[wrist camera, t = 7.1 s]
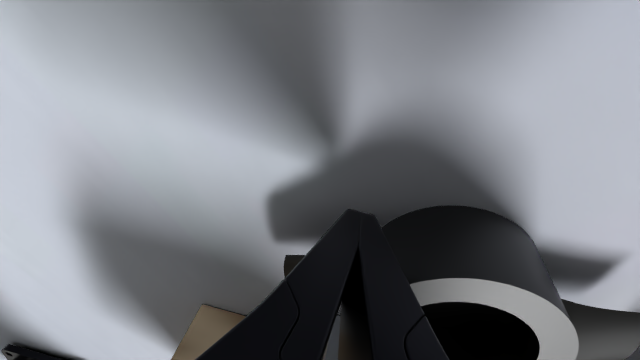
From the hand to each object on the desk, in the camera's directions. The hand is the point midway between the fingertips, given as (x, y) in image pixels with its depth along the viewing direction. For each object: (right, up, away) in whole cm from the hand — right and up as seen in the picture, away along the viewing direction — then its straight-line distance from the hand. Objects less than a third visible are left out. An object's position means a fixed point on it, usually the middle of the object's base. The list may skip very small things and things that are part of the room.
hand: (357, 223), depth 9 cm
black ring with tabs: (+3, -2, +3) cm, 5 cm away
